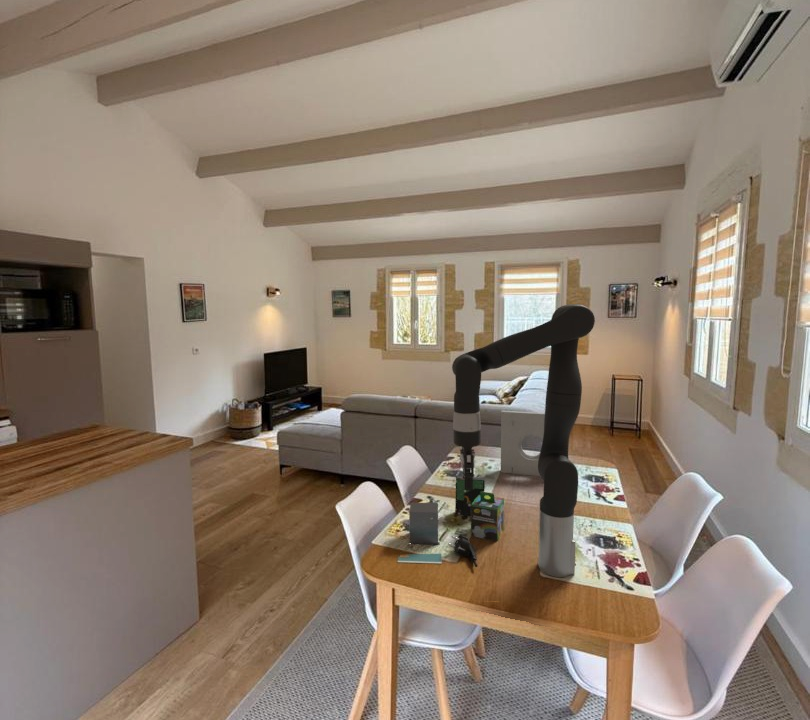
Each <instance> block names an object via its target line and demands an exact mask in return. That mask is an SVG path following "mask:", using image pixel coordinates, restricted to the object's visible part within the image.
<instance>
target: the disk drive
mask: <svg viewBox="0 0 810 720" xmlns="http://www.w3.org/2000/svg"><path fill="white" fill-rule="evenodd" d="M485 481H486V480H485V477H475V476H474V477H473V490H465V488H464V478H463V475H456V477H455V500H454V501H455V508H454V509H455V510H454V515H456V516H461V517H462V516H465V517H471V504H472V503H473V502H474V500H475V499H476V497H477V496H478V495H480V492H485V489H486V488H485Z"/></svg>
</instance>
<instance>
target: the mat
mask: <svg viewBox="0 0 810 720" xmlns="http://www.w3.org/2000/svg"><path fill="white" fill-rule="evenodd" d="M406 555H408V556H409V557H397V563H399V564H426V565H429V564H430V565H442V564H443V562H442V556H443V555H442V553H411V554H410V553H408V554H407V553H406Z"/></svg>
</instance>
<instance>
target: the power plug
mask: <svg viewBox="0 0 810 720" xmlns="http://www.w3.org/2000/svg"><path fill="white" fill-rule="evenodd" d="M451 538H452V539H453V540H455V541H454V543H450V542H447V545H448V546H449V547H451V548H453V553H454V554H455V555H458V556H460V557H465V556H466V557H467V558H468V559H469V560H470V562H471V563H473V564H474V566H475V568H478V564H477V561H478V559H477V553H476V551H477V550H476V549H475V548H476V547H475V546H474V544H471V542H470V539H469V537H468V536H465V535H463V534H459V535H458V536H455V535H452V536H451Z"/></svg>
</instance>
